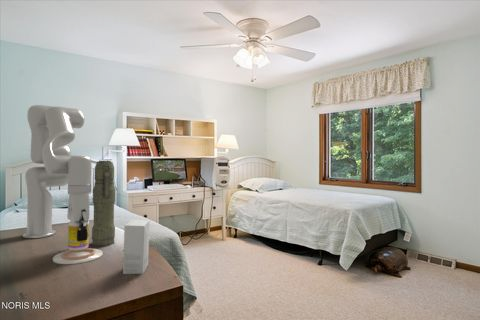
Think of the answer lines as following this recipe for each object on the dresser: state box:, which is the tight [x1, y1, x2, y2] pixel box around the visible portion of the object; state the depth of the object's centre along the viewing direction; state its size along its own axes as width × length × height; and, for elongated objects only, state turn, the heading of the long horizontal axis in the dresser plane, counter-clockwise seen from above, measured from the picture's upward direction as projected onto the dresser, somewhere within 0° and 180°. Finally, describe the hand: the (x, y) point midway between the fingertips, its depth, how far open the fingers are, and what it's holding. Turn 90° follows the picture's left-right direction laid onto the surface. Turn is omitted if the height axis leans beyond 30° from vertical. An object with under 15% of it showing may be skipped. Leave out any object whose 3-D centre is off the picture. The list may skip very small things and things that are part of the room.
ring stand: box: [52, 247, 103, 265], centre depth 109 cm, size 16×16×2 cm
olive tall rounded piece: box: [91, 160, 116, 247], centre depth 126 cm, size 9×12×35 cm
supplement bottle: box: [67, 220, 90, 251], centre depth 109 cm, size 7×7×13 cm
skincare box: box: [122, 219, 150, 275], centre depth 97 cm, size 8×7×16 cm
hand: (78, 238), depth 109 cm, fingers closed on supplement bottle, 6 cm apart
